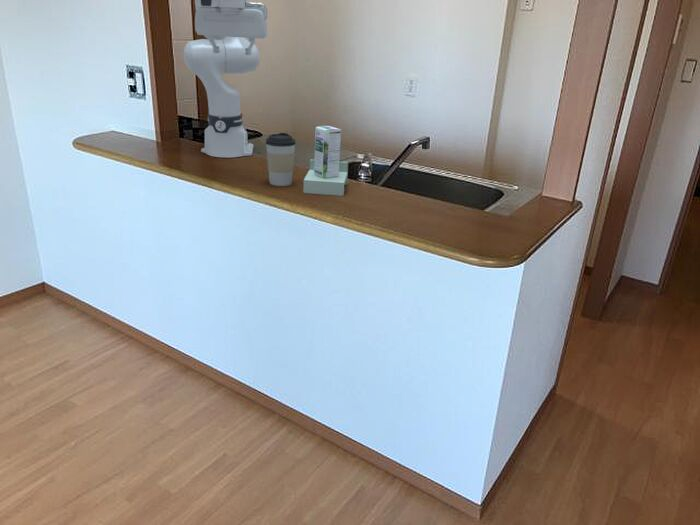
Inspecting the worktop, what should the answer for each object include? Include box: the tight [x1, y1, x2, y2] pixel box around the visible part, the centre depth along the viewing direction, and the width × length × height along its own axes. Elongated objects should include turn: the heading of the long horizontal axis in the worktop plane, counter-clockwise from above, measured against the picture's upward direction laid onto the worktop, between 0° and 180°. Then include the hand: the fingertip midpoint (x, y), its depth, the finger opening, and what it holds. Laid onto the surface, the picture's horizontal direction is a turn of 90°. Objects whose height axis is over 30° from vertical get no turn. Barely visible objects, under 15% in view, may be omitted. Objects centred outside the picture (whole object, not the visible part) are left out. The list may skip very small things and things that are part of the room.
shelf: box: [302, 159, 349, 197], centre depth 169 cm, size 13×12×7 cm
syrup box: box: [313, 125, 342, 178], centre depth 166 cm, size 6×6×14 cm
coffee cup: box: [265, 132, 296, 187], centre depth 170 cm, size 9×9×15 cm
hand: (232, 53), depth 160 cm, fingers open, 8 cm apart
